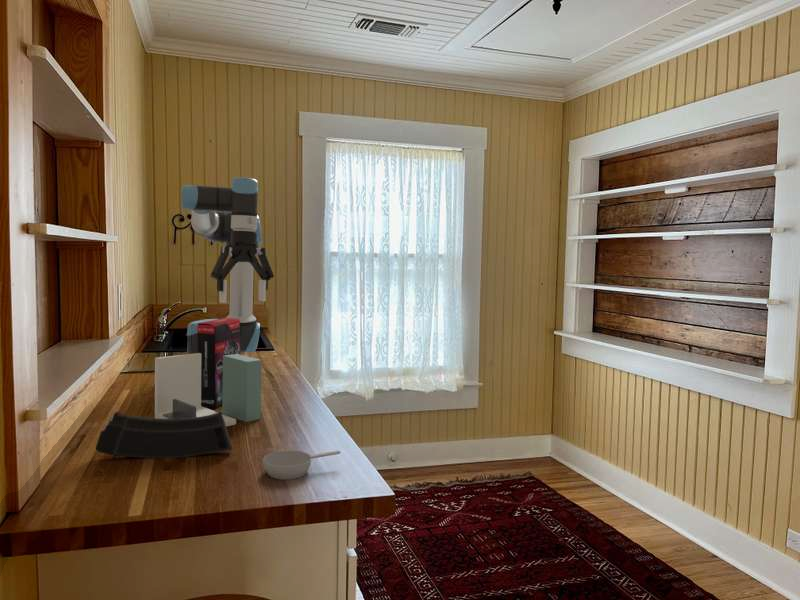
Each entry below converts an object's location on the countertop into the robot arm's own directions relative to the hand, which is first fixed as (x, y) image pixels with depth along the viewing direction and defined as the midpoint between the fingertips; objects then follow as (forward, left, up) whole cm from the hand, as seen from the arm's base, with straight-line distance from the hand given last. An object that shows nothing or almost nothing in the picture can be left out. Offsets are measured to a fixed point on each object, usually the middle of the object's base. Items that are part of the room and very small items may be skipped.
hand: (243, 301), depth 176 cm
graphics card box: (-4, -19, -35) cm, 40 cm away
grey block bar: (+18, -4, -33) cm, 38 cm away
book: (0, 0, -35) cm, 35 cm away
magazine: (+33, +18, -35) cm, 51 cm away
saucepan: (+15, +48, -35) cm, 61 cm away
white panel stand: (+13, -4, -35) cm, 37 cm away
